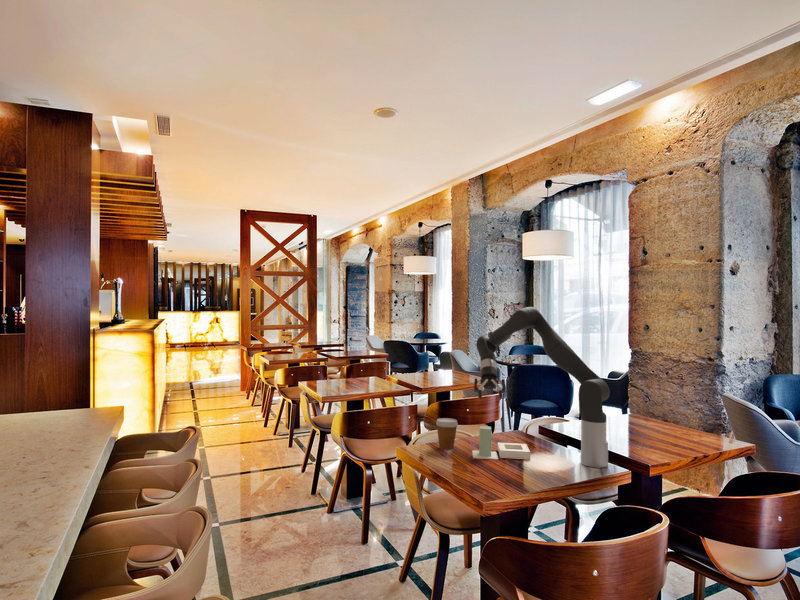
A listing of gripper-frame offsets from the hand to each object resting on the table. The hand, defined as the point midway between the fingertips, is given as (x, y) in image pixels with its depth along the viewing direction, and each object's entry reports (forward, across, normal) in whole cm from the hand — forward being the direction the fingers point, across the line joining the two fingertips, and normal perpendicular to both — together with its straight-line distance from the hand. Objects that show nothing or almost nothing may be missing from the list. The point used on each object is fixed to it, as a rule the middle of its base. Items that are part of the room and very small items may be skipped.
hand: (490, 398), depth 209 cm
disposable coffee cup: (+20, -19, +9) cm, 29 cm away
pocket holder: (+23, +8, +6) cm, 26 cm away
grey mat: (+26, -4, +3) cm, 27 cm away
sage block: (+26, -3, +3) cm, 26 cm away
